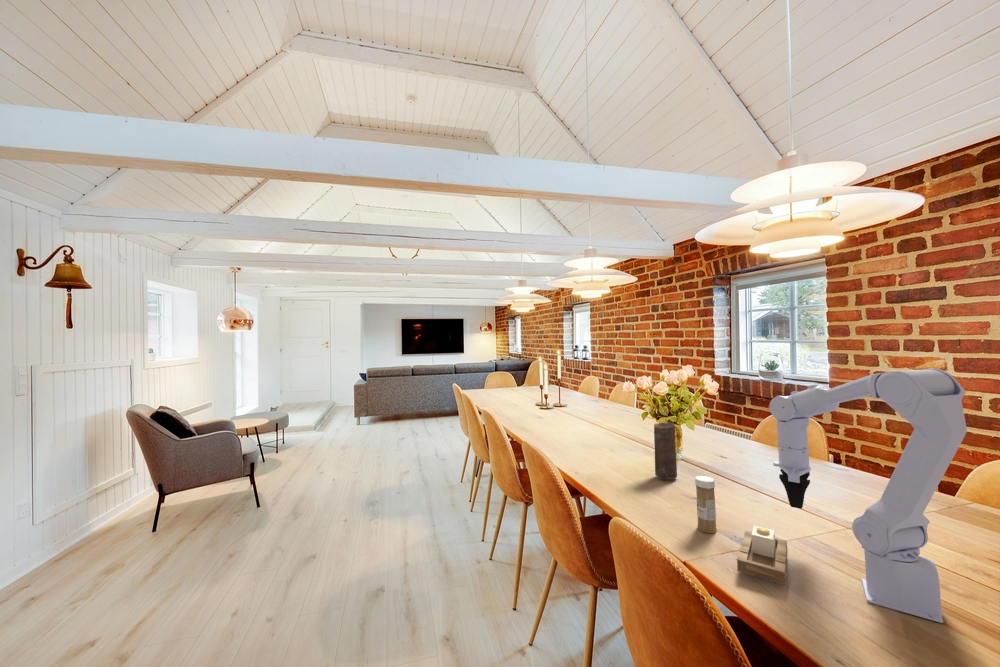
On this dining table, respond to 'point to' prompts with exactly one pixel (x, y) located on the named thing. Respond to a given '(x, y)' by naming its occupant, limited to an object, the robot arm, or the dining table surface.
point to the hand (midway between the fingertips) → (796, 503)
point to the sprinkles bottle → (706, 504)
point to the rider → (763, 541)
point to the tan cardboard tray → (763, 560)
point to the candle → (665, 450)
